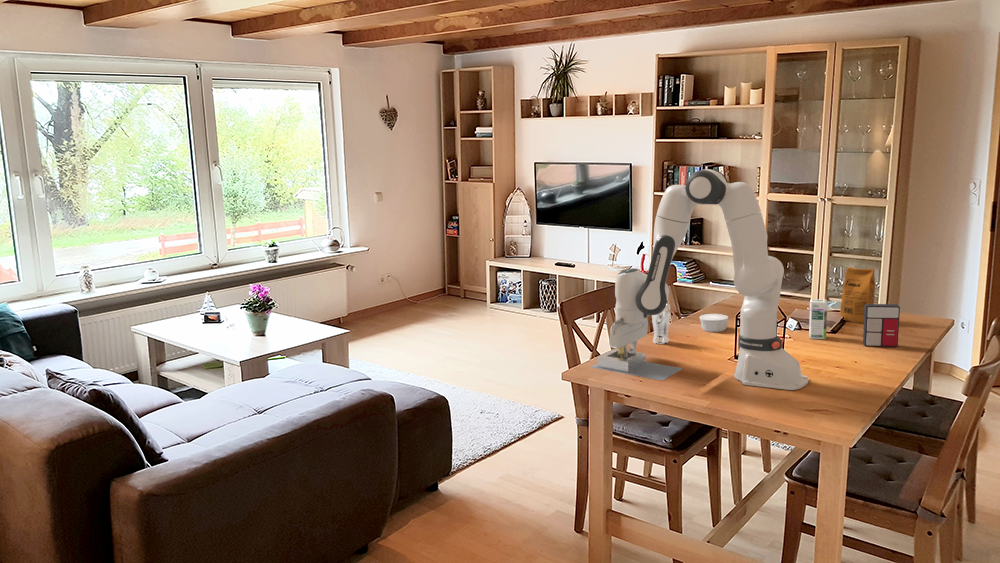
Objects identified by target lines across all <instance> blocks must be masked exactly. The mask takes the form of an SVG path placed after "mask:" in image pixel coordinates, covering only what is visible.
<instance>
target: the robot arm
mask: <svg viewBox="0 0 1000 563" xmlns="http://www.w3.org/2000/svg"><path fill="white" fill-rule="evenodd" d="M698 205H715V206H717V205H718V206H719V207H720V209H721V212H722V214H723V217H724V221H725V224H726V229H727V232H728V235H729V239H730V242H731V249H732V258H733V259H732V261H733V268H734V269H733V270H734V271H733V272H734V277H733V285H734V287H735V290H736V291H737V292H738V293H739V294H740V295H742V296H743V302H742V306H741V308H740V319H739V320H740V321H739V325H740V326H739V333H738V340H737V346H738V347H737V348H738V358H737V363H736V367H735V370H734V371H735V372H734V374H733V377H734V379H736V380H737V381H740V382H741V384H743V385H745V386H753V387H759V388H761V387H762V388H767V389H768V388H770V389H779V390H786V391H787V390H788V391H795V390H799V389H802V388H804V387H806V386H807V385H808V383H809V377H808V376H807V375H805V374H802V368H801V365H800V362H799V360H797V359H796V358H795V357H794V356H793V355H791V354H790V353H789V352H788V351H786V350H785V348H783V343H784V340H785V339H784V337H783V338H780V337H779V336H778V334H777V330H778V329H777V325H778V309H779V302H780V298H781V292H782V291H781V290H782V284H783V278H784V273H785V269H784V265H783V263H782V261H781V260H779V259H778V258H777V257H774V256H771V255H769V252H768V232H767V229H766V225H765V222H764V218H763V214H762V211H761V208H760V204H759V202H758V198H757V197H756V195H755V192H754V190H753V188H752V187H751V185H750V184H749V183H747V182H743V181H736V182H731V183H730V182H728V178H727V177H726V176H725V175H724V173H722V172H721V171H719V170H715V169H709V168H706V169H705V168H704V169H701V170H696V171H694V172H693V173H692V174H690V176H689V177H688V178H687V180H686V182H685V185H683V184H672V185H670V186H668V187H667V188H666V189H665V190H664V192H663V195H662V197H661V199H660V202H659V204H658V208H657V210H656V211H657V212H656V214H655V215H656V216H655V218H654V227H653V242H652V244H653V246H652V256H651V261H650V264H649V268H648V271H647V274H646V273H644V272H642V270H640V269H638V268H628V269H627V268H626V269H623V270H621V271H619V272H618V273H617V275H616V277H615V283H614V285H615V286H614V287H615V288H614V294H615V295H614V297H615V299H616V302H615V306H614V308H615V310H614V311H615V321H613V324H612V325H611V327H610V330H609V343H608V344H609V346H610V348H613V349H615V348H616V349H618V348H621V347H623V346H624V357H627V356H629V351H634V352H637V351H636V348H637V345H638V340H641V339H642V338H645V337H647V334H648V330H649V329H648V328H649V321H648V317H649V316H652V315H657V314H659V313H661V312H662V311H663V310H664V309H665V307H666V303H668V299H669V296H670V287H669V285H668V283H667V279H668V274H669V271H670V268H671V265H672V264H671V263H672V260H673V258H674V256H675V254H676V252H677V250H678V249H679V247H680V246H681V244H682V243H683V241H684V239H685V237H686V235H687V231H688V230H689V226H690V222H691V218H692V214H693V212H694V210H695V208H696V207H697V206H698ZM628 345H630V346H629V348H628ZM627 350H628V351H627Z"/></svg>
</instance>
